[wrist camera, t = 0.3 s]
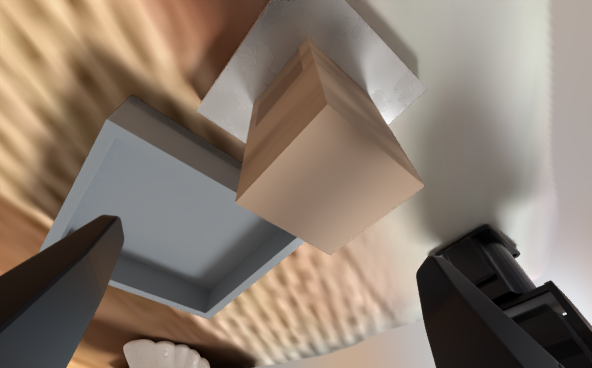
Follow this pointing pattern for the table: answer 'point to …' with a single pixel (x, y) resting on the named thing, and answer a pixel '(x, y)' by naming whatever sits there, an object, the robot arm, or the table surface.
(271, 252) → the tray
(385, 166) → the wooden block
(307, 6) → the stud plate
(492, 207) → the table surface
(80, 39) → the table surface
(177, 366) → the cherub figurine
